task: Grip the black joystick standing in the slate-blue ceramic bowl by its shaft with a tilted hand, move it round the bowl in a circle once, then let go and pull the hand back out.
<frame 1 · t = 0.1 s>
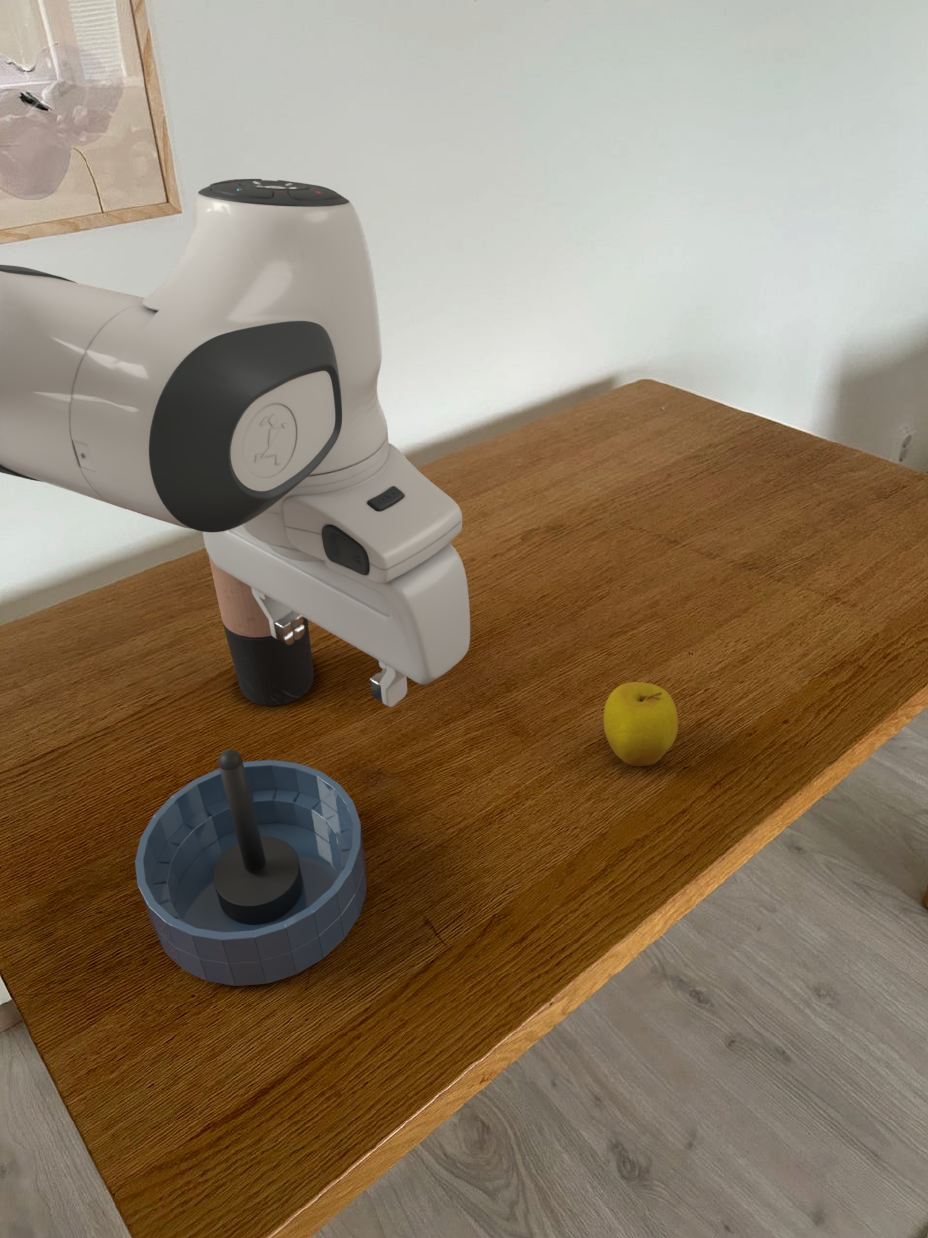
hand: (337, 666, 64), 21 cm above the table, tool pointing down, fingers open, 8 cm apart
apple: (636, 755, 87), on the table
bowl: (262, 895, 76), on the table
joystick: (261, 889, 75), point 1 cm above the table, touching bowl
travel mug: (277, 682, 95), on the table
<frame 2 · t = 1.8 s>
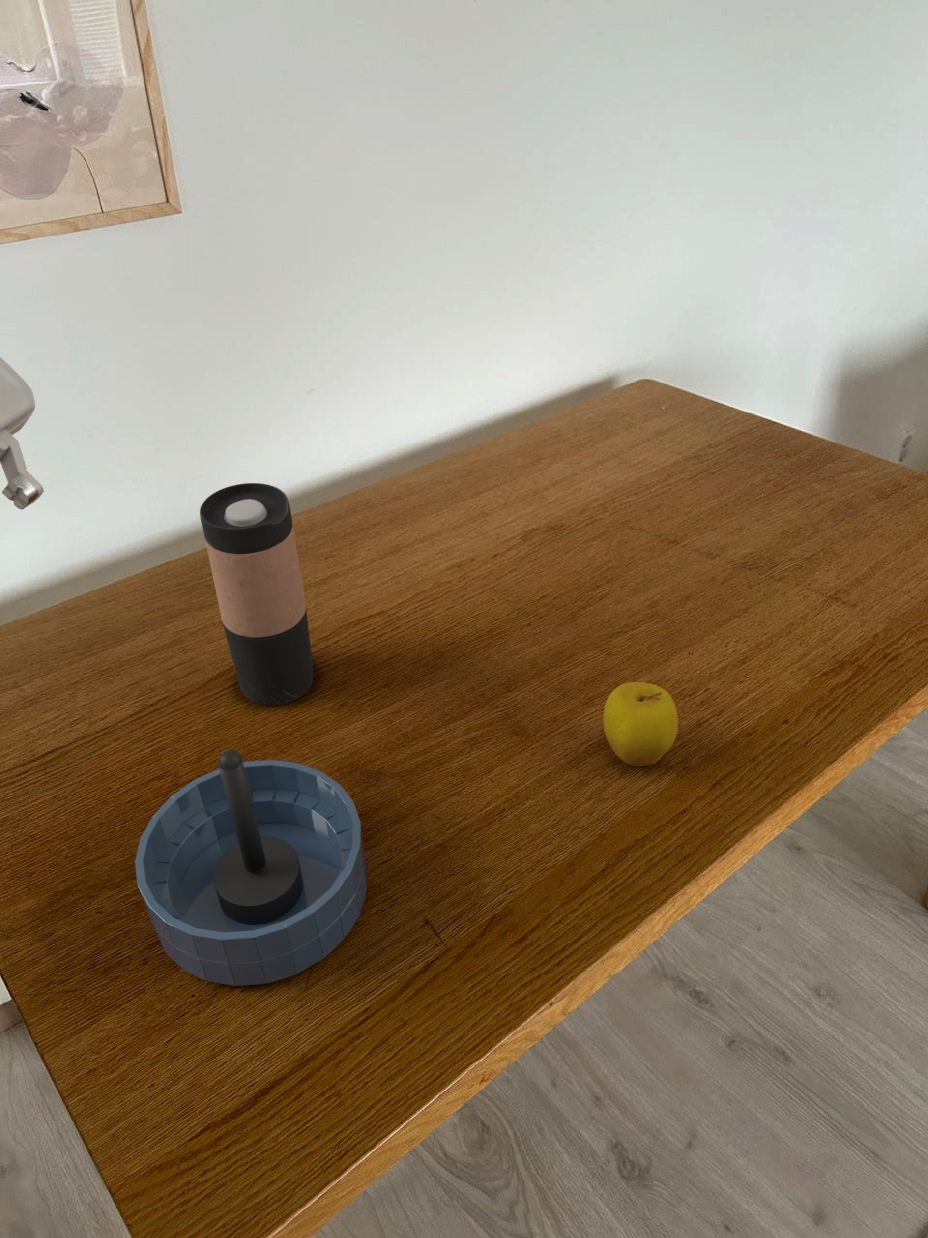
nothing on the table moved.
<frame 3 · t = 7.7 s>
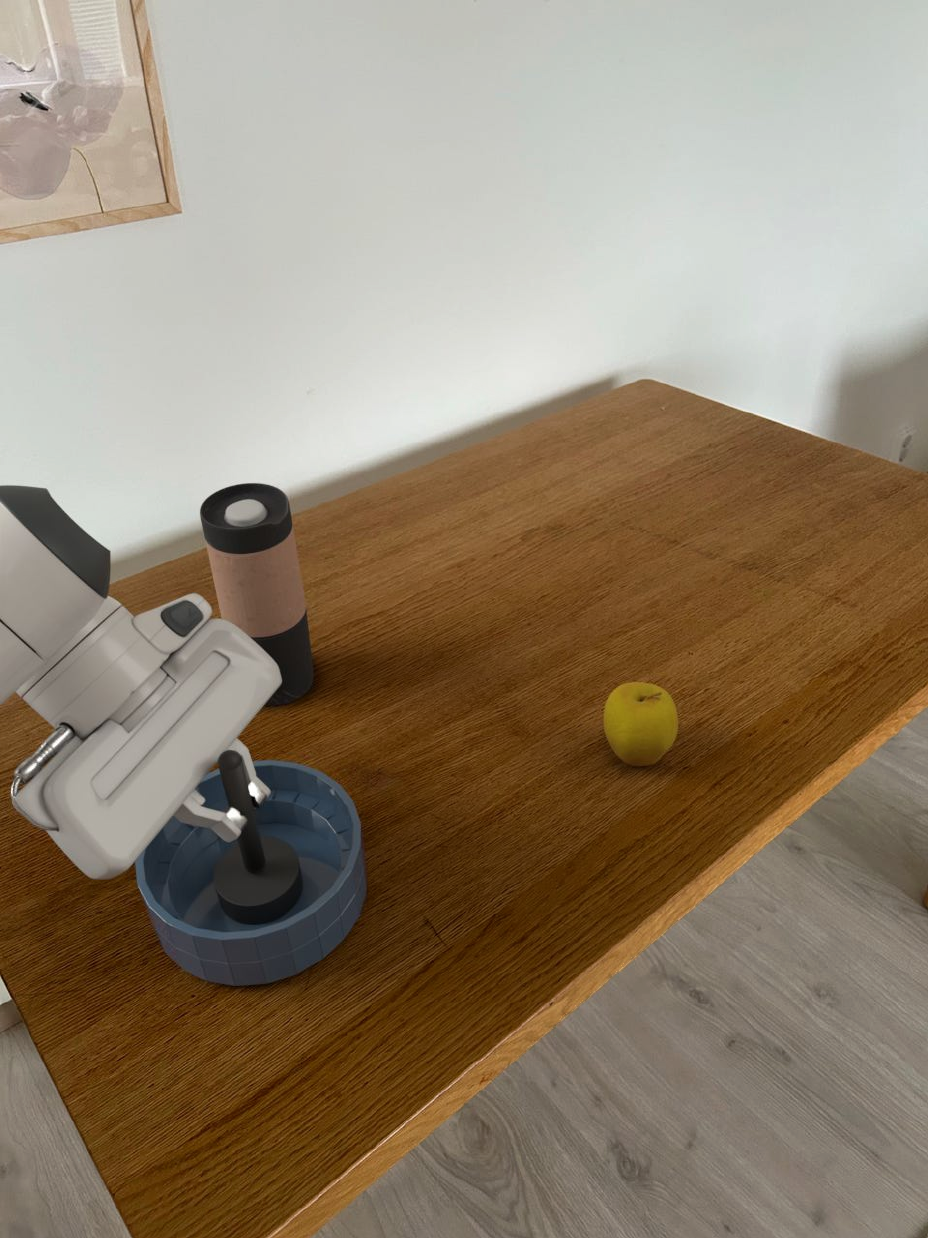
hand: (250, 817, 70), 9 cm above the table, tool tilted 45°, fingers closed on joystick, 2 cm apart
joystick: (261, 889, 75), point 1 cm above the table, touching bowl, gripper
everything else where it was.
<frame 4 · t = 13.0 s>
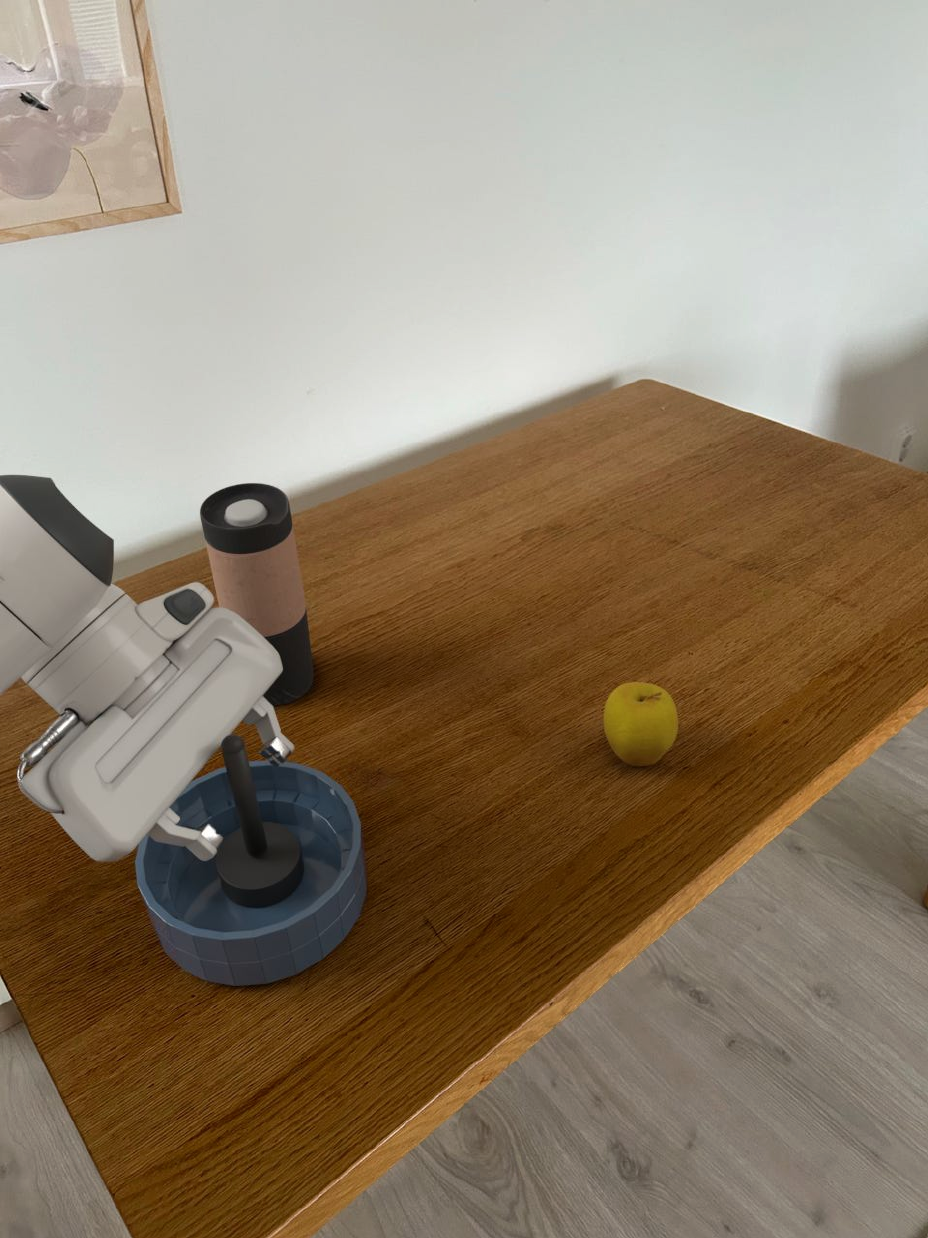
hand: (252, 802, 71), 9 cm above the table, tool tilted 45°, fingers open, 8 cm apart
joystick: (263, 873, 76), point 1 cm above the table, touching bowl
everything else where it was.
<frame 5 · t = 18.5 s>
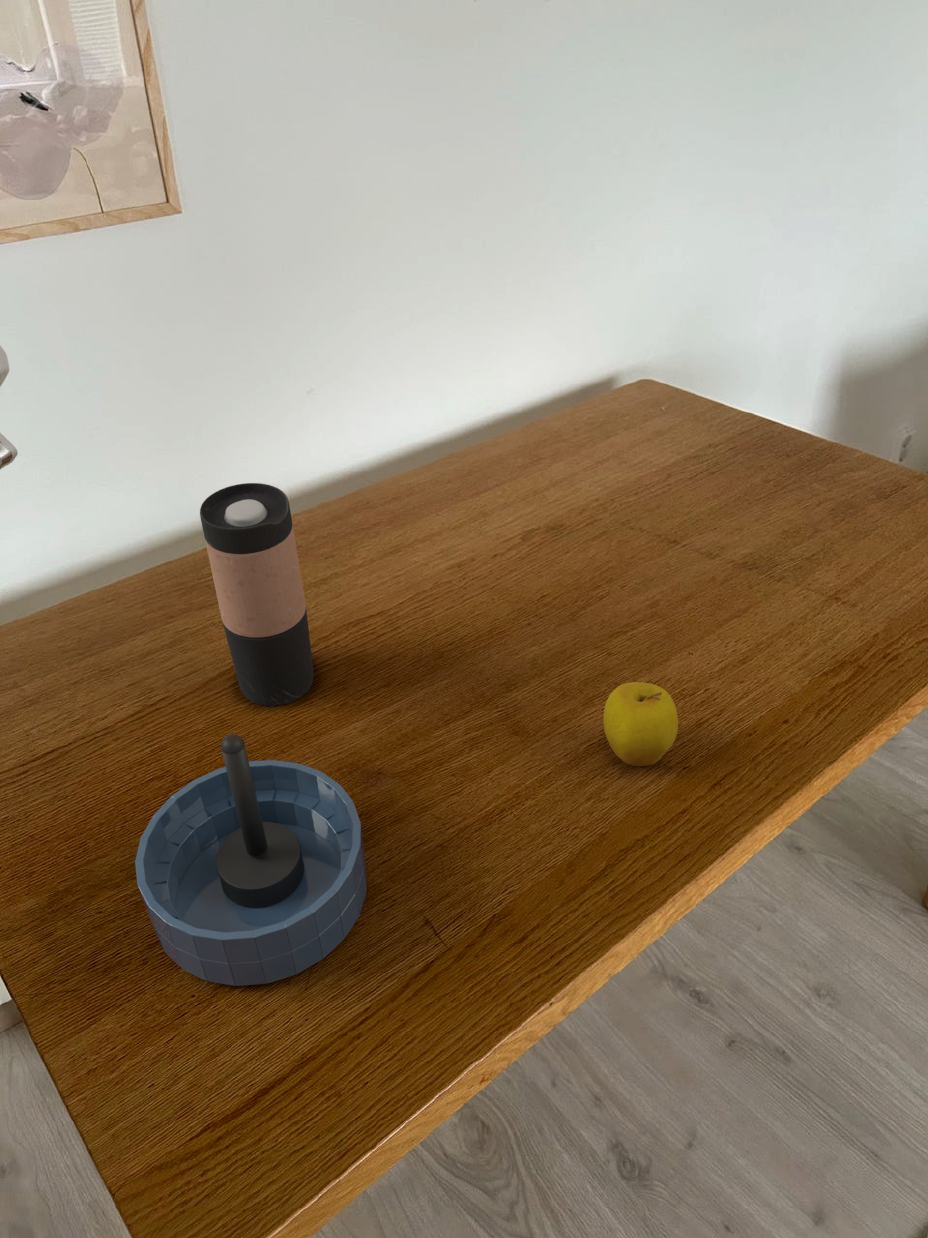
nothing on the table moved.
at the end: joystick inside the target area in the bowl (1.4 cm from its centre), point 0.8 cm above the bowl's base; joystick tilted 0°; the gripper is holding nothing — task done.
